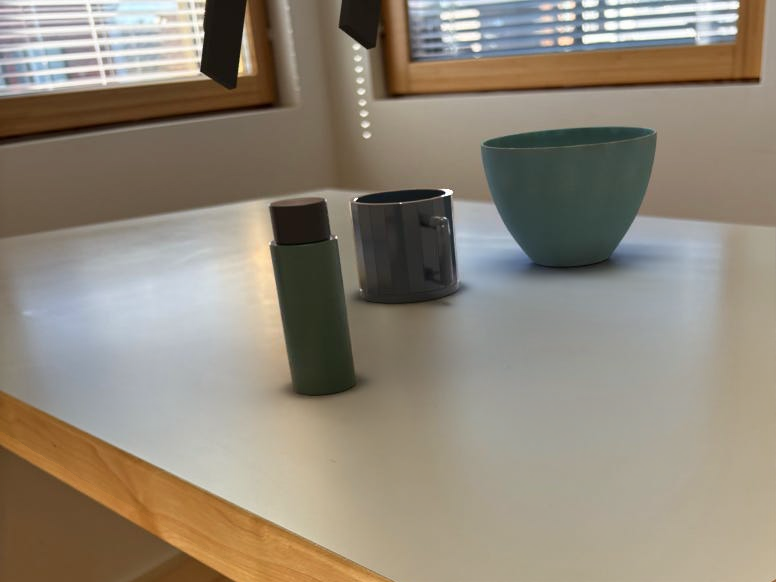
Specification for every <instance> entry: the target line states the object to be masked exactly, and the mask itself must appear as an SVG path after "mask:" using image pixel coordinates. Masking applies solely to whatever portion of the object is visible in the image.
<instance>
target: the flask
mask: <svg viewBox="0 0 776 582" xmlns="http://www.w3.org/2000/svg"><path fill="white" fill-rule="evenodd" d="M268 210H269V216H270V223H271V229H272V235H273V240H271V241H270V242H269V244H268V246H269V251H270V256H271V257H270V258H271V264H272V270H273V276H274V283H275V287H276V293H277V300H278V305H279V311H280V319H281V324H282V331H283V336H284V343H285V348H286V349H285V350H286V354H287V360H288V361H287V362H288V367H289V372H290V373H289V374H290V380H291V383H292V384H291V385H292V390H293V391H294V392H295V393H297V394H301V395H305V396H321V395H324V396H325V395H331V394H336V393H341V392H343V391H346V390H348V389H352V387H354V386H355V385H356V383H357V377H356V370H355V362H354V361H355V360H354V354H353V347H352V340H351V331H350V323H349V317H348V309H347V302H346V301H347V300H346V294H345V287H344V278H343V271H342V265H341V257H340V256H341V255H340V248H339V241H338V237H337V235H336V234H332V232H331V225H330V217H329V209H328V202H327V199H326V198H324V197H317V196H310V197H308V196H307V197H295V198H294V197H293V198H287V199H280V200H277V201H273V202H270V203H269V204H268Z"/></svg>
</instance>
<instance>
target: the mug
mask: <svg viewBox="0 0 776 582" xmlns="http://www.w3.org/2000/svg"><path fill="white" fill-rule="evenodd" d="M453 196H454V195H453V191H452V190H450V189H445V188H436V187H435V188H434V187H422V188H421V187H420V188H419V187H418V188H417V187H416V188H414V187H413V188H402V189H390V190H382V191H375V192H369V193H365V194H360V195H357V196H354V197H351V198H350V199H349V200H348V208H349V209H348V210H349V214H350V216H349V217H350V224H351V231H352V239H353V248H354V255H355V264H356V271H357V273H356V274H357V279H358V287H359V291H360V292H359V293H360V296H361V299H363V300H365V301H367V302H372V303H379V304H407V303H418V302H426V301H431V300H435V299H439V298H443V297H447V296H450V295H452V294H454V293H456V292H457V291H458V290H459V288H460V282H459V279H460V276H459V275H460V274H459V263H458V249H457V237H456V236H457V235H456V224H455V222H456V221H455V209H454V208H455V207H454V197H453Z"/></svg>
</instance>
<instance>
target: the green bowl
mask: <svg viewBox="0 0 776 582" xmlns="http://www.w3.org/2000/svg"><path fill="white" fill-rule="evenodd" d="M657 137H658V131H657V130H656V129H655V128H651V127H642V126H629V125H627V126H626V125H604V126H603V125H602V126H580V127H579V126H578V127H576V126H575V127H563V128H554V129H553V128H552V129H542V130H533V131H525V132H524V131H523V132H518V133H512V134H505V135H502V136H501V135H500V136H497V137H492V138H488V139H485V140H484V141H482V142H481V143H480V144H479V145H480V154H481V160H482V167H483V170H484V174H485V179H486V183H487V186H488V189H489V192H490V195H491V198H492V201H493V203H494V205H495V208H496V210H497V212H498V214H499V217H500V218H501V220H502V222H503V224H504V225H505V228H506V229H507V232H508V233H509V234H510V235H511V237H512V239H514V241H515V242H516V244H517V245H518V246H519V248H521V250H522V251H523V253H525V255H526V256H527V258H528V259H530V260H531V261H532V262H533V263H534V264H536V265H539V266H545V267H552V268H553V267H554V268H565V267H566V268H568V267H580V266H587V265H594V264H597V263H601V262H604V261H606V260H607V259H609V258H610V257H611V255H612V254H613V253H614V252H615V250H616V249H617V248H618V247H619V245H620V244H621V242H622V240H623V239H624V238H625V236H626V234H627V233H628V231H629V230H630V228H631V226H632V225H633V223H634V221H635V219H636V217H637V215H638V213H639V210H640V208H641V206H642V204H643V201H644V198H645V196H646V192H647V189H648V186H649V183H650V179H651V176H652V171H653V166H654V162H655V156H656V149H657Z"/></svg>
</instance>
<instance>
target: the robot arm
mask: <svg viewBox="0 0 776 582" xmlns="http://www.w3.org/2000/svg"><path fill="white" fill-rule="evenodd" d="M247 2H248V0H205V4H204V13H203V21H202V22H203V23H202V29H203V32H204V33H203V40H202V48H201V49H202V51H201V57H200V65H199V73H201V74H203V75H204V76H206V77H207V78H209V79H211V80H212V81H214V82H215V83H217V84H219V85H221V86H222V87H224V88H225V89H227V90H228V91H233V90H235V89H237V86H238V77H239V69H240V62H241V61H240V60H241V55H242V54H241V51H242V46H243V45H242V44H243V38H244V37H243V36H244V29H245V20H246V11H247ZM382 2H383V1H382V0H341V4H340V10H339V11H340V12H339V19H338V20H339V21H338V27H337V28H338V29H340V30H341V31H342V32H343V33H345V34H346V35H347V36H348V37H350V38H351V39H353V40H354V41H355V42H356V43H358V44H359V45H360V46H361V47H363V48H364V49H365V50H367V51H368V50H372V49H374V48H376V47H377V41H378V33H379V24H380V16H381V10H382Z"/></svg>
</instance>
